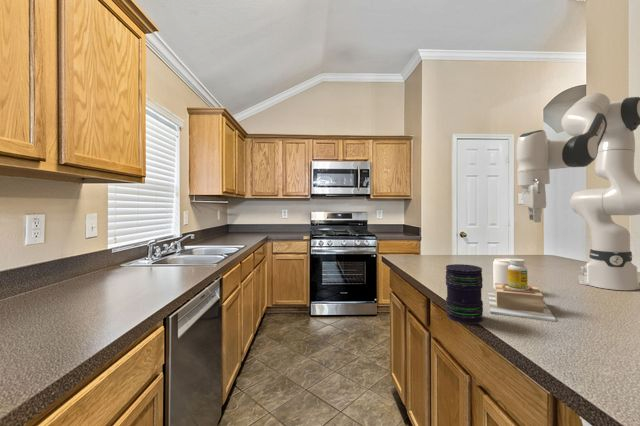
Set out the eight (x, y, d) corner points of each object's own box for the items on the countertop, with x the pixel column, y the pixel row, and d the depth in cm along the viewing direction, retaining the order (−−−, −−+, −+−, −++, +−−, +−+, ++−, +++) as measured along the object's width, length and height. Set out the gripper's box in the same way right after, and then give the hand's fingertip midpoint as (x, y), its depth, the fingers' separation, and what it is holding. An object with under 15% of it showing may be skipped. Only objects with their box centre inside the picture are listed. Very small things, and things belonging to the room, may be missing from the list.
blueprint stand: (488, 294, 112) (488, 278, 112) (541, 299, 104) (541, 282, 104) (490, 313, 92) (490, 293, 92) (555, 321, 85) (555, 300, 85)
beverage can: (494, 287, 122) (494, 257, 122) (518, 289, 117) (518, 259, 117) (492, 291, 115) (491, 260, 115) (517, 295, 111) (517, 262, 110)
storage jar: (446, 321, 87) (446, 269, 86) (445, 310, 96) (444, 263, 96) (486, 325, 83) (485, 271, 83) (480, 313, 92) (479, 265, 92)
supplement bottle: (512, 285, 102) (512, 257, 102) (530, 289, 98) (530, 259, 98) (504, 288, 99) (504, 259, 99) (523, 292, 95) (522, 261, 95)
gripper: (551, 177, 90) (553, 223, 91) (539, 180, 109) (540, 218, 109) (526, 179, 93) (528, 224, 94) (518, 181, 111) (519, 219, 112)
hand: (534, 221), depth 102 cm, fingers open, 8 cm apart
